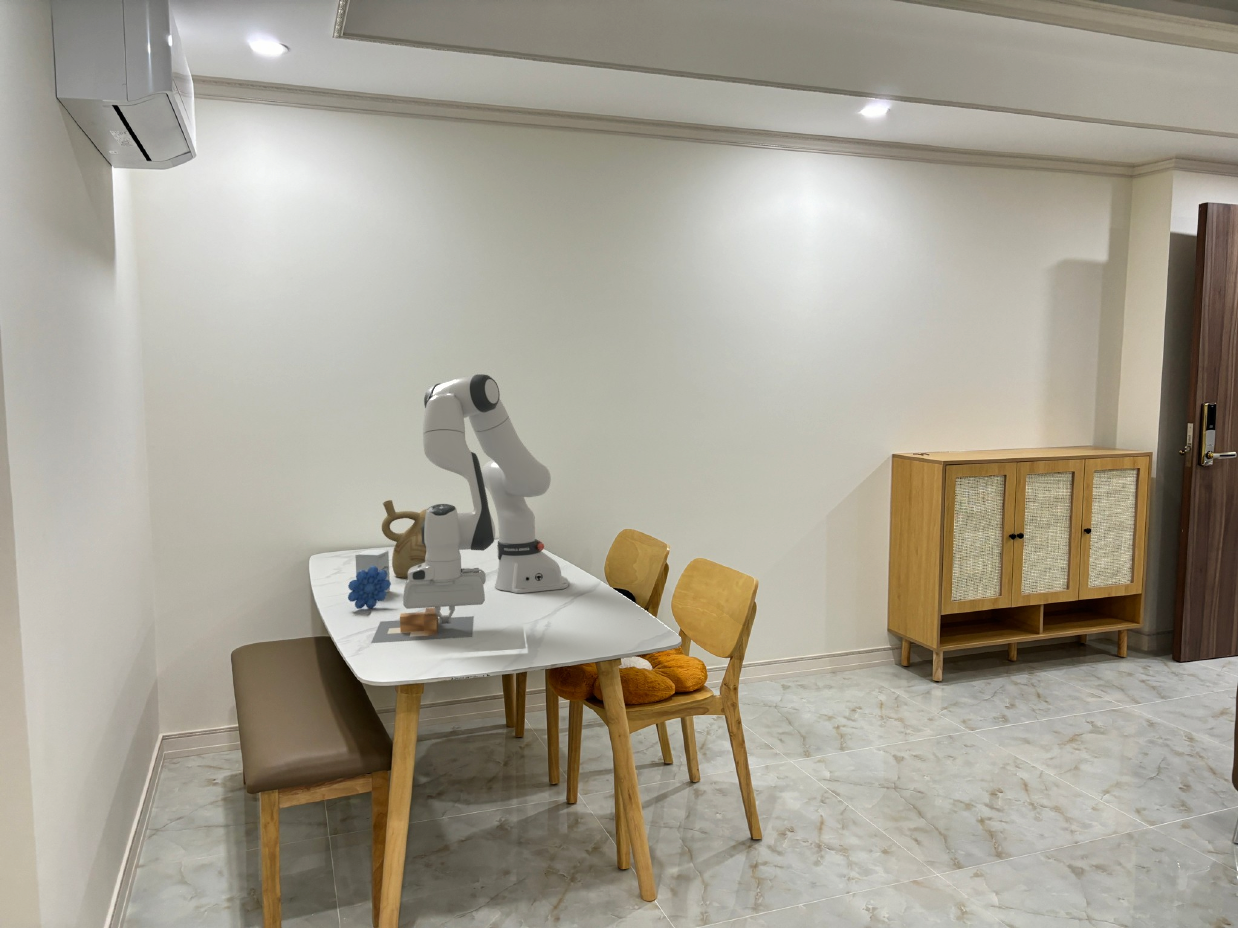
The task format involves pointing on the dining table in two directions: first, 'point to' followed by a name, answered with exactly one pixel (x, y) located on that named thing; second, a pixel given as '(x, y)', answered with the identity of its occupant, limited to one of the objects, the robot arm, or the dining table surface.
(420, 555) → the ceramic vessel
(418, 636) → the push board
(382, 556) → the supplement box
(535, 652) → the dining table surface
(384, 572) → the blue lumpy cluster
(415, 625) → the t block
